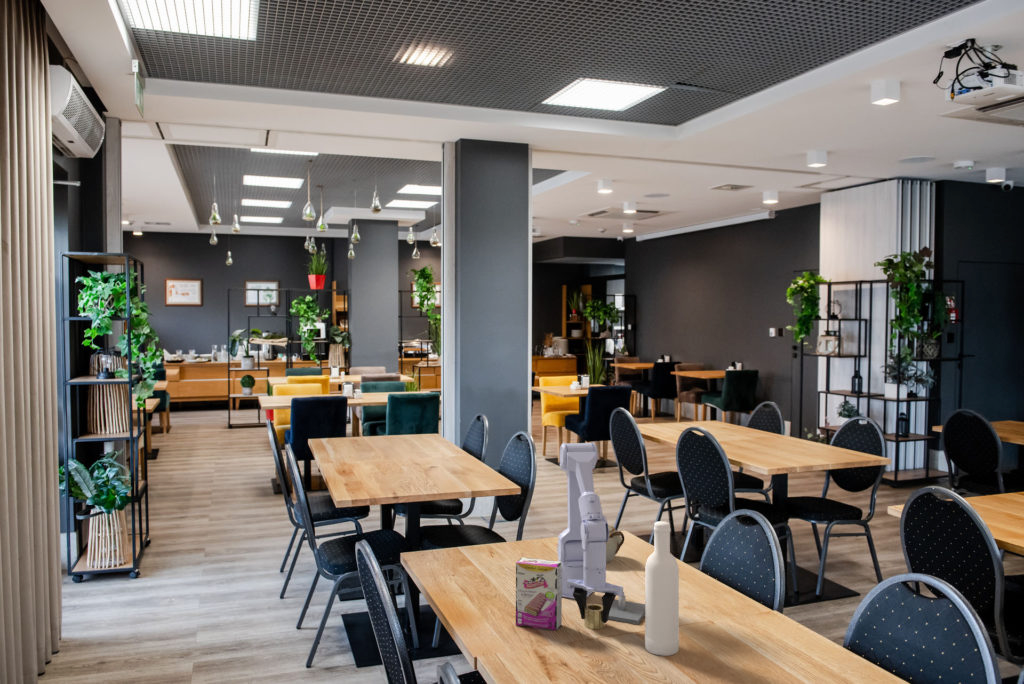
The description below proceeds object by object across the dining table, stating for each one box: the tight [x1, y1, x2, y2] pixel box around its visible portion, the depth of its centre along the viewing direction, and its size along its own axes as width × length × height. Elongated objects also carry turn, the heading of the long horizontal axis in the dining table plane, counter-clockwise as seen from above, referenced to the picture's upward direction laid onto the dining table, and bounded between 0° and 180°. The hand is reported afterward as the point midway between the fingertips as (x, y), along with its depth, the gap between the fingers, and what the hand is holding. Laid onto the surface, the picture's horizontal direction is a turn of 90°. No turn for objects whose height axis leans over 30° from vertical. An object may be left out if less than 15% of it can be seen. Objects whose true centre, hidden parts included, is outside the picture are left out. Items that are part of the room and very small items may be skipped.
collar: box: [583, 603, 606, 630], centre depth 191 cm, size 5×5×4 cm
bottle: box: [644, 520, 680, 657], centre depth 177 cm, size 8×8×30 cm
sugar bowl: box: [605, 524, 625, 564], centre depth 245 cm, size 20×15×15 cm
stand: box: [601, 591, 645, 625], centre depth 199 cm, size 12×12×6 cm
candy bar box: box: [515, 557, 563, 632], centre depth 191 cm, size 11×5×16 cm, turn 71°
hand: (594, 619), depth 191 cm, fingers closed on collar, 5 cm apart
